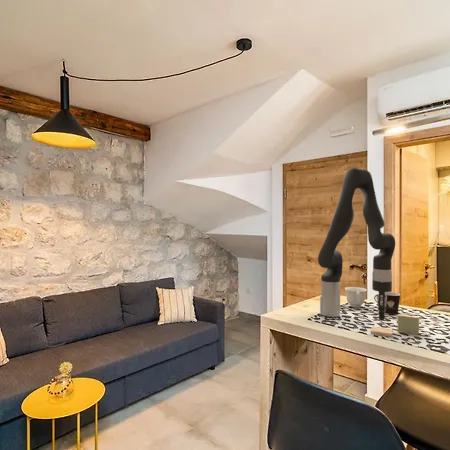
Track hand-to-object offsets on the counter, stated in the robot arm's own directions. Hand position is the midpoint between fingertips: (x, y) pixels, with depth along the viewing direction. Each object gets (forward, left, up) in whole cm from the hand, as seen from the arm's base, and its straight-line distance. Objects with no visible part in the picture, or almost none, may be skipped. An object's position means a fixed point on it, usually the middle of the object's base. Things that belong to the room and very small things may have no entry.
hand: (381, 319), depth 138 cm
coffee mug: (+2, +37, -5) cm, 37 cm away
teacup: (-14, +40, -5) cm, 43 cm away
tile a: (0, +2, -5) cm, 5 cm away
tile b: (+10, +5, -5) cm, 12 cm away
